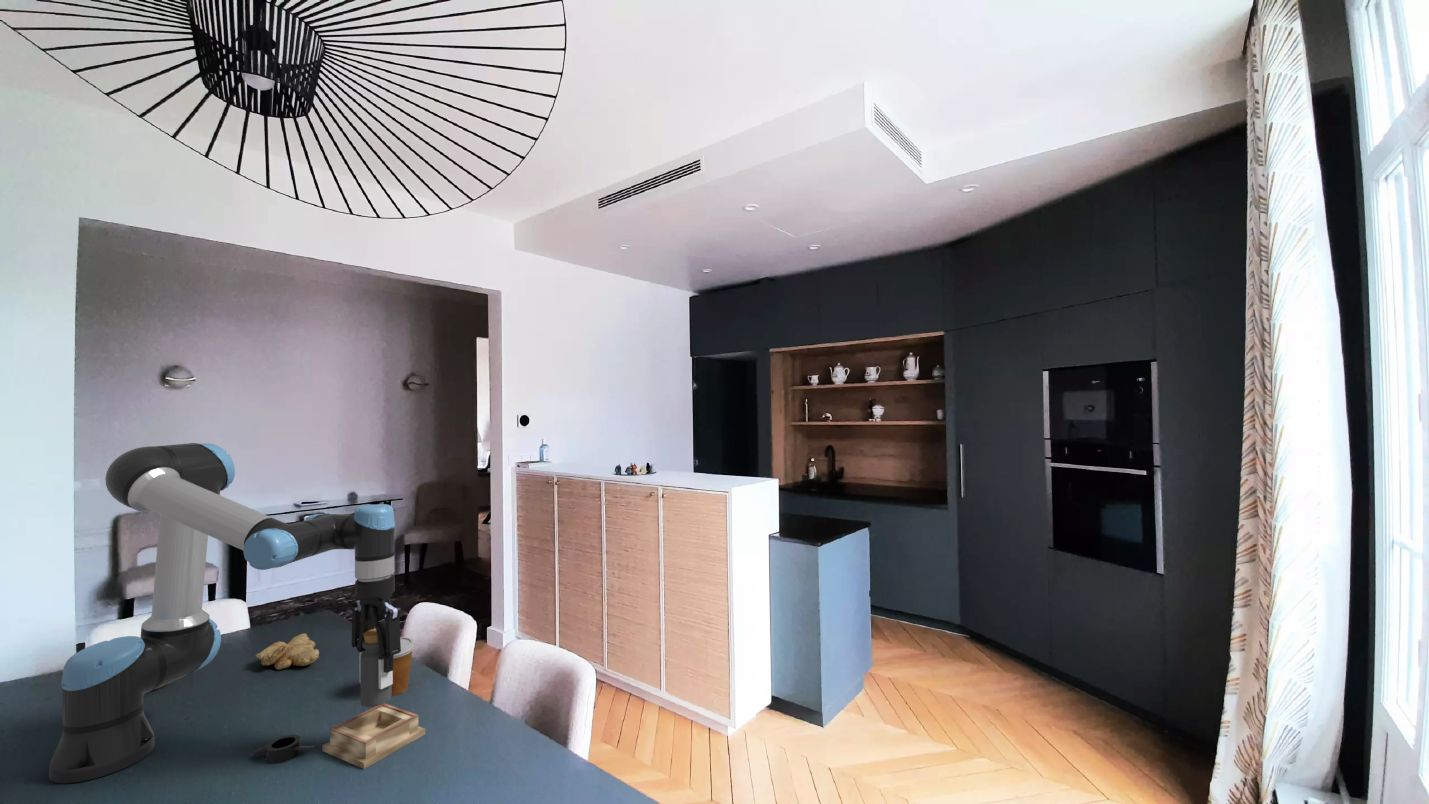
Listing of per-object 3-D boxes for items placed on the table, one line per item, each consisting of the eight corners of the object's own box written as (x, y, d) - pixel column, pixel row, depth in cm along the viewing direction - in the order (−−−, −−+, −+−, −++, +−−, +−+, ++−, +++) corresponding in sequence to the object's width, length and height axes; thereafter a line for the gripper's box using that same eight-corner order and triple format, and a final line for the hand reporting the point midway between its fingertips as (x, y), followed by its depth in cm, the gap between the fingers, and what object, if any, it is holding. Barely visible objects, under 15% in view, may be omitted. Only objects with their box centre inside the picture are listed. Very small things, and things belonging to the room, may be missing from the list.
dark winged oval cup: (288, 741, 129) (288, 728, 129) (317, 752, 125) (317, 738, 125) (248, 760, 122) (248, 746, 122) (278, 773, 118) (278, 758, 118)
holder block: (322, 750, 125) (322, 729, 125) (384, 719, 137) (384, 699, 137) (364, 769, 119) (364, 746, 119) (425, 734, 131) (425, 713, 131)
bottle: (377, 708, 125) (377, 637, 125) (354, 706, 126) (353, 635, 126) (397, 695, 130) (397, 627, 130) (375, 692, 132) (374, 625, 132)
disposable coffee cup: (382, 703, 145) (382, 654, 145) (365, 692, 150) (365, 645, 150) (421, 688, 152) (421, 642, 152) (404, 678, 158) (404, 633, 158)
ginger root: (259, 653, 171) (266, 625, 171) (322, 656, 177) (329, 630, 178) (242, 678, 157) (250, 648, 157) (311, 681, 163) (319, 652, 164)
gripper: (419, 577, 127) (420, 684, 127) (364, 567, 136) (365, 668, 136) (386, 587, 121) (387, 700, 121) (331, 576, 129) (332, 682, 129)
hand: (376, 683), depth 128 cm, fingers closed on bottle, 6 cm apart
